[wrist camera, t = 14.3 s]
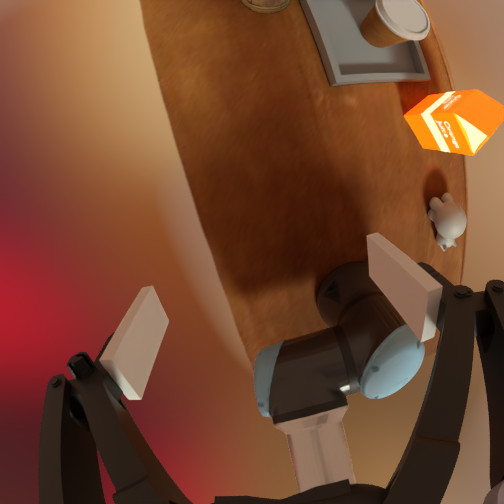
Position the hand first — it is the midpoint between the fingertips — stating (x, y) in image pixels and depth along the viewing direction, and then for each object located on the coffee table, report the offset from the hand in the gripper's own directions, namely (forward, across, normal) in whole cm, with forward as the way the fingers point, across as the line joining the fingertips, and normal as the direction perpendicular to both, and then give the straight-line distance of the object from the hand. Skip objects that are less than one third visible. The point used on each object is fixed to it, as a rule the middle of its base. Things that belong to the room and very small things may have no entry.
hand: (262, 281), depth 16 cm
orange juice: (+32, -36, -7) cm, 49 cm away
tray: (+31, -27, -25) cm, 49 cm away
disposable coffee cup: (+31, -29, -25) cm, 49 cm away
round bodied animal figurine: (+32, -37, +13) cm, 50 cm away
